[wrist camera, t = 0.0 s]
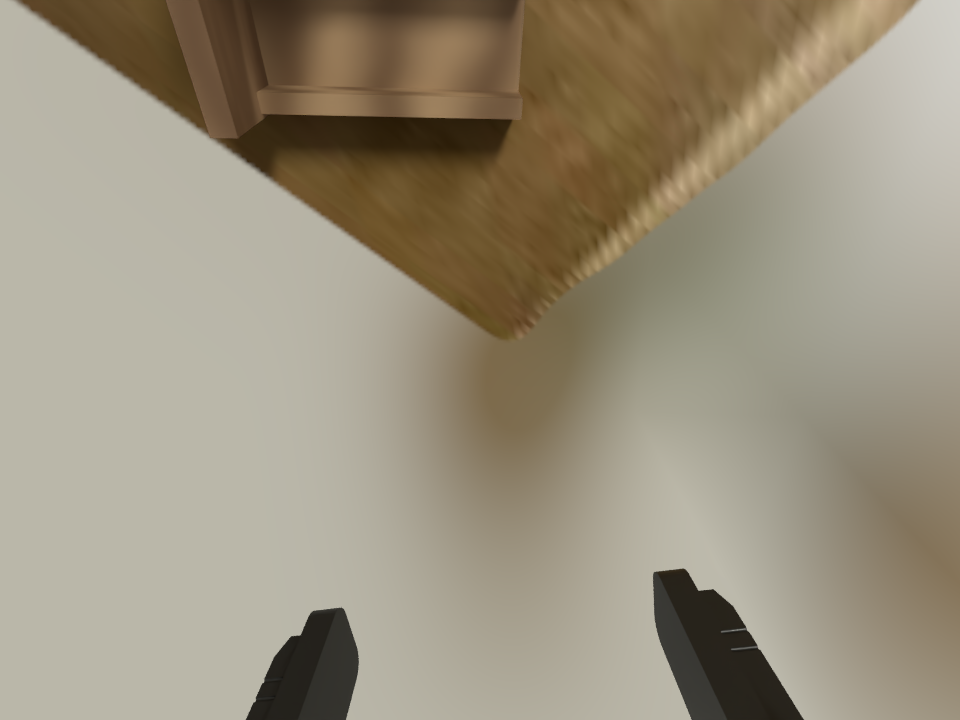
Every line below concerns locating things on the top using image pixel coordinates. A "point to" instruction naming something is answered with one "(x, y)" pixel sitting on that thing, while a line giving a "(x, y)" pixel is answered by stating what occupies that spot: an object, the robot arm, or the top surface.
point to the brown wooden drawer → (350, 58)
